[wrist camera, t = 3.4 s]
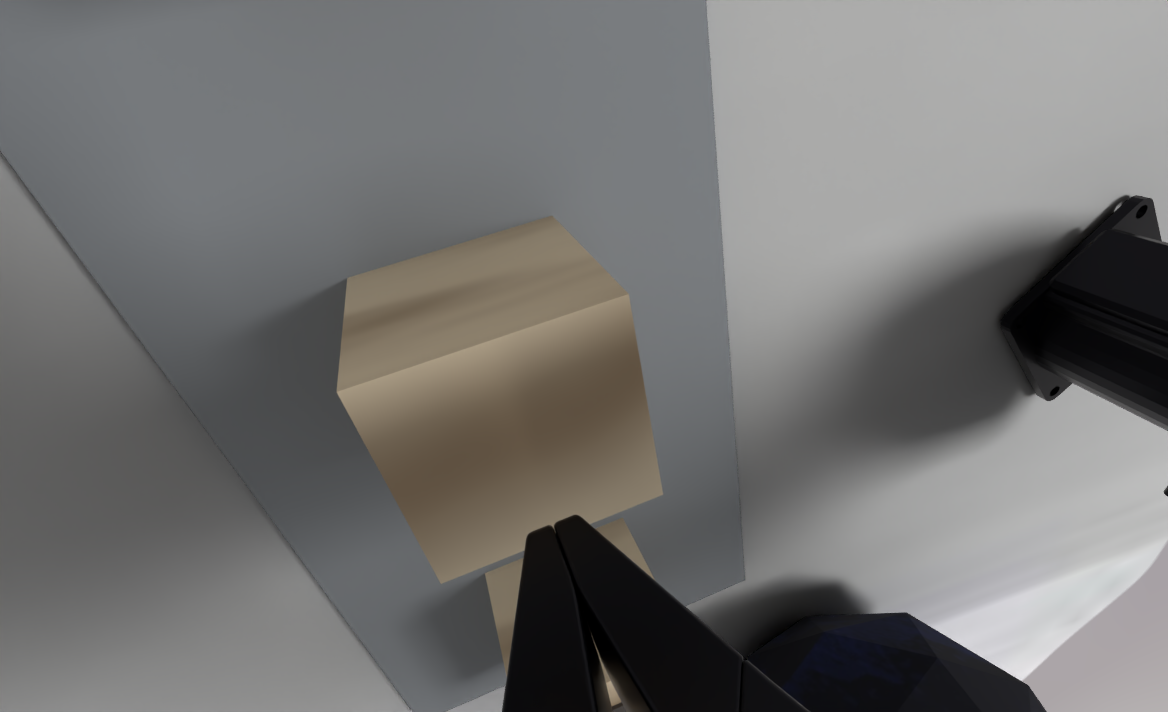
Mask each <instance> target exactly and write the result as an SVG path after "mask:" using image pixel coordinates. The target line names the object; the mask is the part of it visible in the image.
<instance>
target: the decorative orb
mask: <svg viewBox="0 0 1168 712" xmlns="http://www.w3.org/2000/svg"><path fill="white" fill-rule="evenodd" d="M747 660H748V661H749V662H751V663H752V664H753V665H754V666H755V667H756V668H757V669H759V670H760V671H761V672H762V673H763V674H764V675H766V676H767V677H768V678H769V679H770V680H771V681H773V682H774V683H775V684H776V685H778V686H779V687H780V688H781V689H783V690H784V691H785V692H786V693H787V694H789V695H790V696H791V697H792V698H794V699H795V700H796V701H797V702H799V703H800V704H801V705H802V706H803V707H805V708H806V709H807V710H809V711H810V712H1046V710H1045V709H1044V707H1043V706H1042V704H1041V703H1040V701H1039V700H1038V699H1037V697H1036V696H1035V694H1034V693H1033V691H1032V690H1031V689H1030V687H1029V686H1028V685H1027V684H1025V683H1023V682H1022V681H1020V680H1018V679H1017V678H1015V677H1013V676H1012V675H1010V674H1008V673H1007V672H1005V671H1003V670H1002V669H1000V668H998V667H997V666H995V665H993V664H992V663H990V662H988V661H987V660H985V659H983V658H982V657H980V656H978V655H977V654H975V653H973V652H972V651H970V650H968V649H966V648H965V647H963V646H961V645H960V644H958V643H956V642H955V641H953V640H951V639H950V638H948V637H946V636H945V635H943V634H941V633H940V632H938V631H936V630H935V629H933V628H931V627H930V626H928V625H926V624H925V623H923V622H921V621H920V620H918V619H916V618H915V617H913V616H911V615H910V614H908V613H880V614H852V615H824V616H806V617H804V618H803V619H801V620H800V621H799V622H797V623H796V624H794V625H793V626H791V627H790V628H788V629H787V630H786V631H784V632H783V633H781V634H780V635H778V636H777V637H776V638H774V639H773V640H771V641H770V642H768V643H767V644H766V645H764V646H763V647H761V648H760V649H758V650H757V651H756V652H754V653H753V654H751V655H750V656H749V657H748V659H747Z"/></svg>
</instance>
